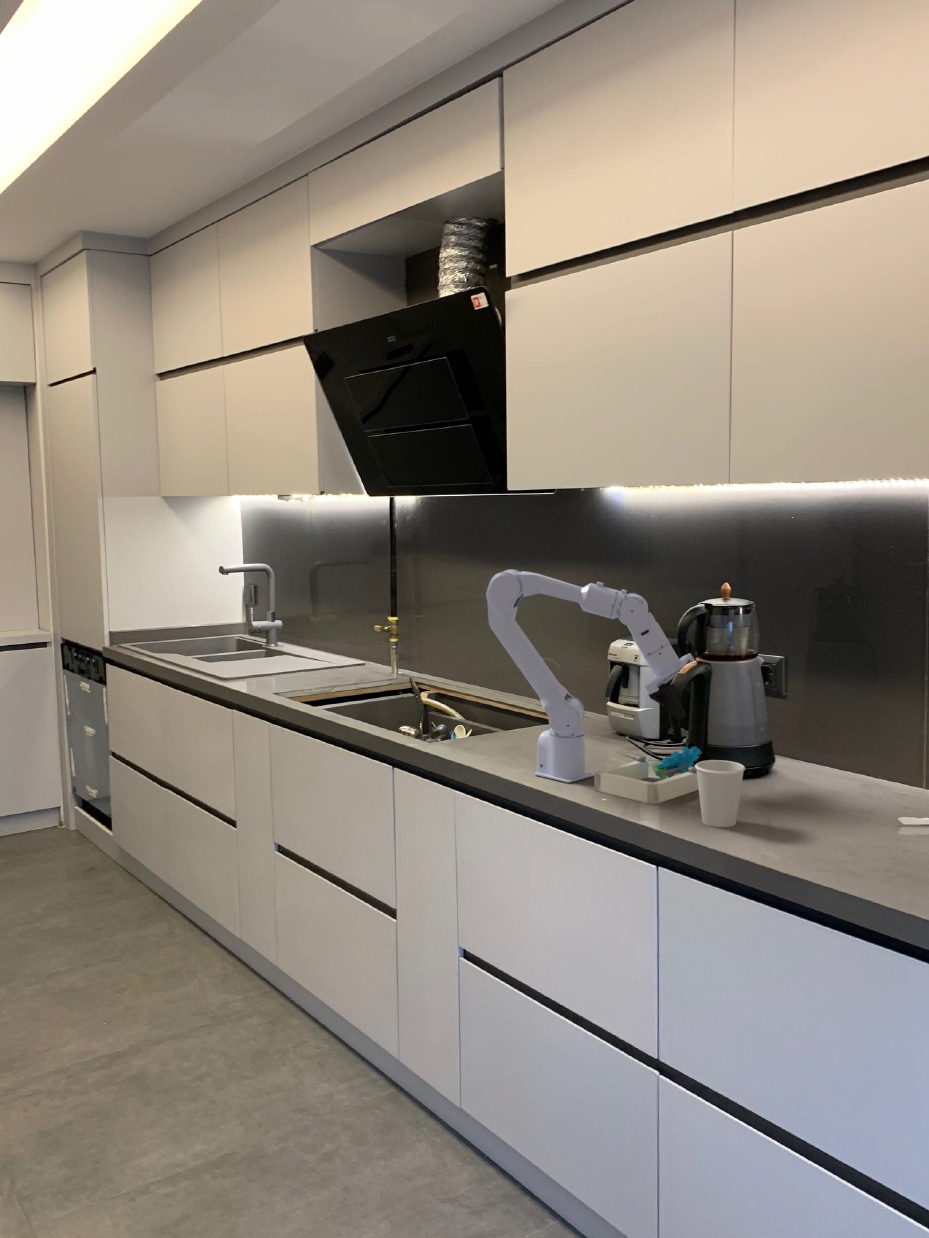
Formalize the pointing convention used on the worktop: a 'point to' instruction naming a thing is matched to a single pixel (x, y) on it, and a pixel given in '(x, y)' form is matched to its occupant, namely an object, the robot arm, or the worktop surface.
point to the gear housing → (644, 782)
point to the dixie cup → (719, 791)
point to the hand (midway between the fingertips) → (691, 709)
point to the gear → (677, 762)
